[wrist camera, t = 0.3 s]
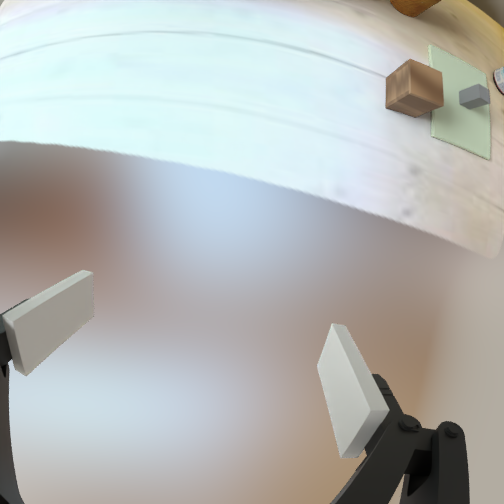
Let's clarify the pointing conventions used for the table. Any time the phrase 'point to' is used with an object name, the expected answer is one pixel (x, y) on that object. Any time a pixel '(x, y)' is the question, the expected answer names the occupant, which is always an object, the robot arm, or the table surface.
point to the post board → (455, 114)
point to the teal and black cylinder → (499, 79)
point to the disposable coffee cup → (413, 6)
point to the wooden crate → (414, 89)
